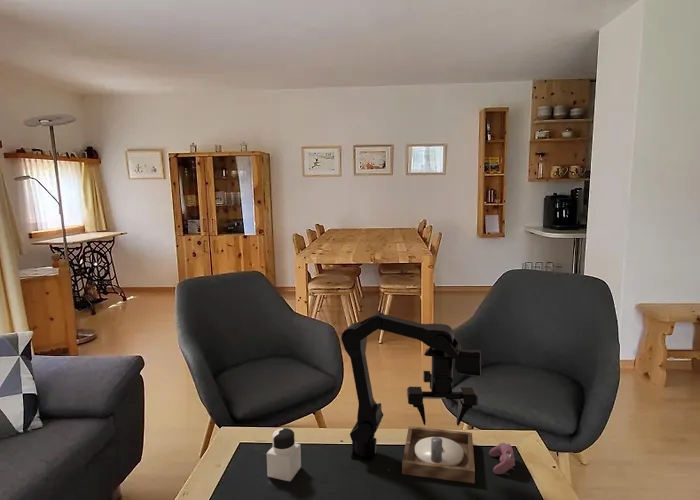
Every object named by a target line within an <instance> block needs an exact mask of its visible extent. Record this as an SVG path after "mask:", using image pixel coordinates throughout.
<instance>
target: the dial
mask: <svg viewBox="0 0 700 500" xmlns="http://www.w3.org/2000/svg"><path fill="white" fill-rule="evenodd" d="M463 455H464V452H463V449H462V447H461V446H460V445H459V444H458V443H456V442H454V441H452V440H450V439H447V438H443V437H428V438H424V439H422V440H420V441H418V442H417V443H416V445H415V456H416V457H417V459H418V460H419V461H420V462H425V463H433V464H436V463H438V464H441V465H449V466H457V465H459V464H460V463H461V462H462V461H463Z"/></svg>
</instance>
